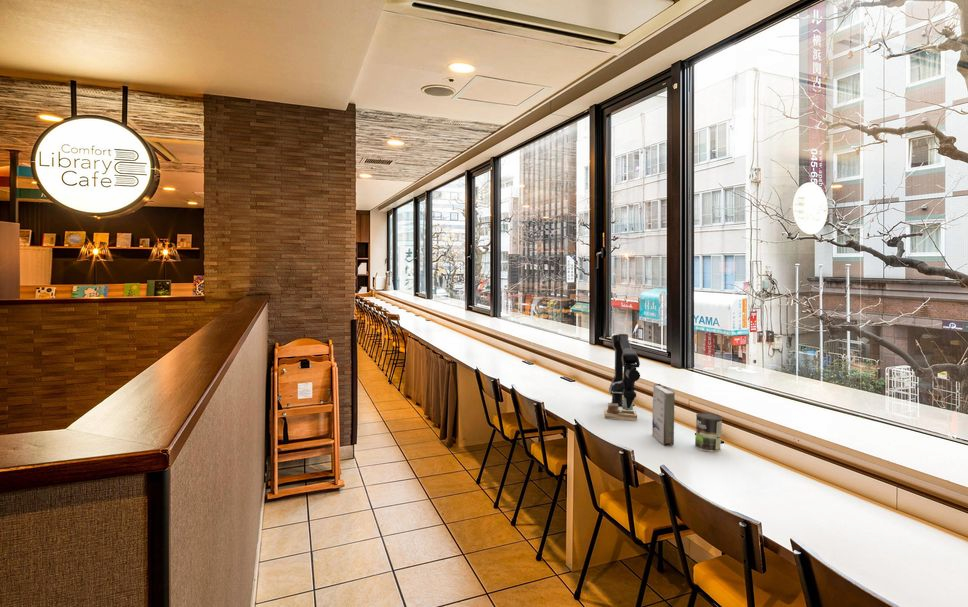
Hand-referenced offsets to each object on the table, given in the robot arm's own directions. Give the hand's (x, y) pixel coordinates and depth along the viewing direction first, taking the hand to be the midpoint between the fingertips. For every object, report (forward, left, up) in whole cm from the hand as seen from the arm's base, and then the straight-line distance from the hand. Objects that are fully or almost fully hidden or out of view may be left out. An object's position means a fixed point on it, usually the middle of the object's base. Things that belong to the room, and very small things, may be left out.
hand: (628, 406), depth 263 cm
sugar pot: (0, 0, -1) cm, 1 cm away
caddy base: (0, -4, -6) cm, 7 cm away
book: (+33, +13, -6) cm, 35 cm away
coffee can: (+39, +31, -6) cm, 50 cm away
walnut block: (0, -7, -4) cm, 9 cm away
